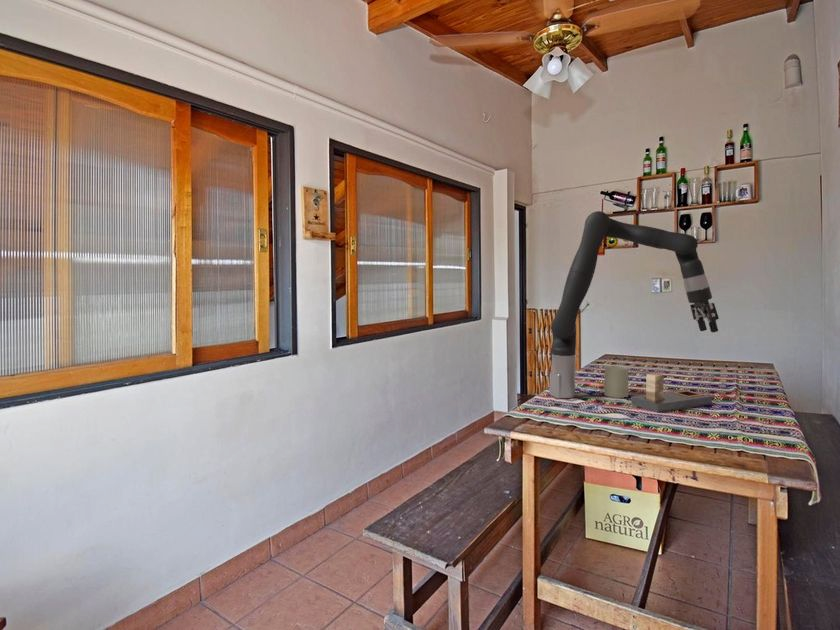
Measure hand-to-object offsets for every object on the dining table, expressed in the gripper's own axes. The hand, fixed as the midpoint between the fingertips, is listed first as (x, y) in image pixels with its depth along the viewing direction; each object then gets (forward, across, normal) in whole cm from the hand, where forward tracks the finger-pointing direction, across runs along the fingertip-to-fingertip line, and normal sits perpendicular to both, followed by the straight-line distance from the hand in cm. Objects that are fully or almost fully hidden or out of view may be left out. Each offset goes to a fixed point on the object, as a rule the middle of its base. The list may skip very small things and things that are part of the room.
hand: (709, 331), depth 168 cm
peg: (+23, 0, -25) cm, 34 cm away
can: (+20, -17, -34) cm, 42 cm away
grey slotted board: (+24, -4, -18) cm, 30 cm away
